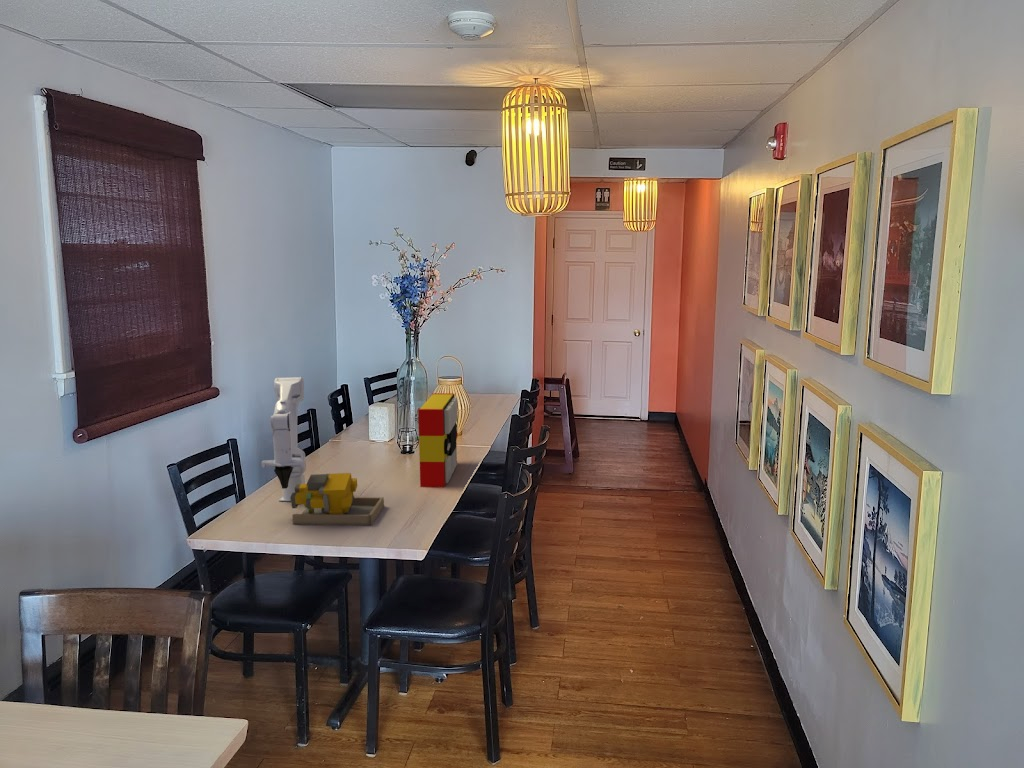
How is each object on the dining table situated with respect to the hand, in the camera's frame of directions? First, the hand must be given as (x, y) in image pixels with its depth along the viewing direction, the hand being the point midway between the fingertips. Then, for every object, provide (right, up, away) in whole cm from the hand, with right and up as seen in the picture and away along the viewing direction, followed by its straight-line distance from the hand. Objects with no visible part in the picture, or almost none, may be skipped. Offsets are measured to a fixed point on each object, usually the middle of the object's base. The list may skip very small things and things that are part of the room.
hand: (285, 487), depth 261 cm
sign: (+48, -1, +47) cm, 67 cm away
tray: (+18, -9, +1) cm, 21 cm away
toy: (+3, -3, -1) cm, 4 cm away
